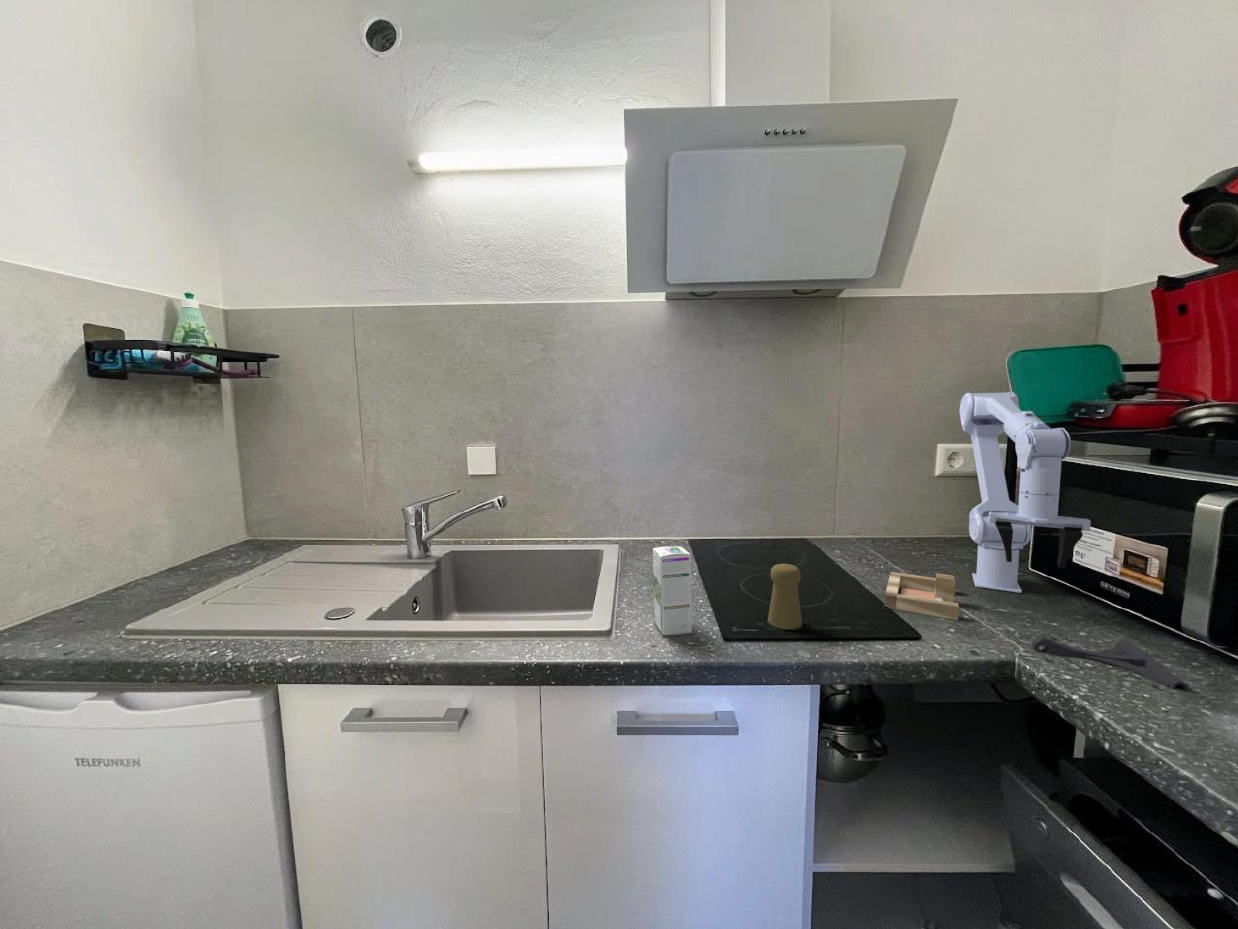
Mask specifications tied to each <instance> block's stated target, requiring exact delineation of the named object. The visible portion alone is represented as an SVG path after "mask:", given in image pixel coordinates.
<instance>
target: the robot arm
mask: <svg viewBox="0 0 1238 929" xmlns="http://www.w3.org/2000/svg"><path fill="white" fill-rule="evenodd" d="M1019 402H1020V401H1019V398H1018V395H1017V394H1016V393H1015V392H1013V391H1008V392H1007V391H1006V392H978V393H977V392H976V393H975V392H974V393H973V392H967V393H965V394H964V395H963V396H962V397H961V399H960V403H959V405H960V406H959V416H960V424H961V427H962V431H963V432H965V434H968V435H969V436H970V438H971V439H970V440H971V444H972V450H973V456H974V462H975V468H976V474H977V478H978V479H977V480H978V486H979V491H980V499H981V502H980V503H979V504H977V505H976V506H975V507H973V508H972V509H971V510H970V512H969V514H968V515H969V516H968V517H969V524H968V532H969V536H970V539H971V540H973V542H974V543H975V544H978V545H977V556H976V558H977V559H976V560H977V561H976V573H971V575H972V580H973V584H974V587H976V588H982V589H983V588H985V589H991V590H999V591H1004V592H1012V593H1022V589H1021V587H1020V585H1019V583H1018V575H1019V574H1018V573H1019V558H1020V557H1019V556H1020V550H1024V546H1026V545H1027V544H1029V542H1030V541H1031V539H1032V535H1033V530H1032V529H1033V528H1032V527H1042V528H1052V529H1053V528H1054V529H1055V528H1056V529H1058V530H1059V544H1058V545H1059V547H1058V554H1057V560H1056V562H1057V564H1056V565H1057V566H1058V568H1059V569H1066V568H1065V567H1066V563H1067V561H1068V558H1069V556H1070V554H1071V553H1072V550H1073V549H1074V548H1075V547H1076V545H1077V544H1078V543H1079V542H1080V540H1082V537H1083V535H1084V533H1083V532H1090V531H1091V520H1090V519H1088V518H1082V517H1081V518H1080V517H1072V516H1063V515H1058V513H1059V500H1060V487H1061V486H1060V485H1061V474H1062V473H1061V472H1062V460H1065V459H1066V458H1067V457H1068V456H1069V453H1070V451H1071V447H1072V446H1071V445H1072V444H1071V437H1070V434H1069V433H1068V431H1067V430H1066V429H1065V428H1064V427H1057V428H1051V427H1050V426H1048V425H1047V424H1046V423H1045V422H1044V421H1043V420H1042V419H1040V418H1039V417H1038V416H1036V414H1035V413H1034V412H1033V411H1032V410H1028V411H1027V410H1023V411H1022V409H1021V408H1020V405H1019V404H1020V403H1019ZM1004 433H1005V434H1006V435H1007V437H1008V438H1010V439H1011V440H1012V441H1013V442H1014V443H1015V444H1014V445H1015V447H1014V448H1015V453H1016V457H1017V467H1018V468H1019V469H1020V475H1019V491H1018V504H1016V503H1014V502H1013V501H1011V500H1010V496H1009V491H1008V486H1007V481H1006V474H1005V470H1004V464H1003V459H1002V455H1001V449H1000V443H999V438H998V437H999V435H1002V434H1004ZM1082 531H1083V532H1082Z"/></svg>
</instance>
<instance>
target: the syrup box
mask: <svg viewBox="0 0 1238 929" xmlns="http://www.w3.org/2000/svg"><path fill="white" fill-rule="evenodd" d="M691 556H692V554H691V553H690V552H688V551H687V550H686V549H685V548H684V547H683V546H681V545H666V546H659V547H658V546H657V547H653V548H652V565H653V566H652V570H653V571H652V572H653V574H652V575H653V576H652V577H653V619H654V620H653V621H654V625H655V626H656V628H657V629H658V631H659V632H660V634H661V636H673V635H674V636H676V635H683V634H692V633H693V630H692V629H693V626H692V624H693V622H692V620H693V619H692V618H693V615H692V613H693V607H692V605H693V602H692V600H693V599H692V562H691V561H692V560H691V558H692V557H691Z"/></svg>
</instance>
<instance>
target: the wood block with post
mask: <svg viewBox="0 0 1238 929" xmlns="http://www.w3.org/2000/svg"><path fill="white" fill-rule="evenodd" d="M935 578H936V585H935V600H939V601H945V602H952V603H954V596H955V595H954V581H955V576H954V575H952V574H951V575H950V574H944V573H943V574H942V573H935Z"/></svg>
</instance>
